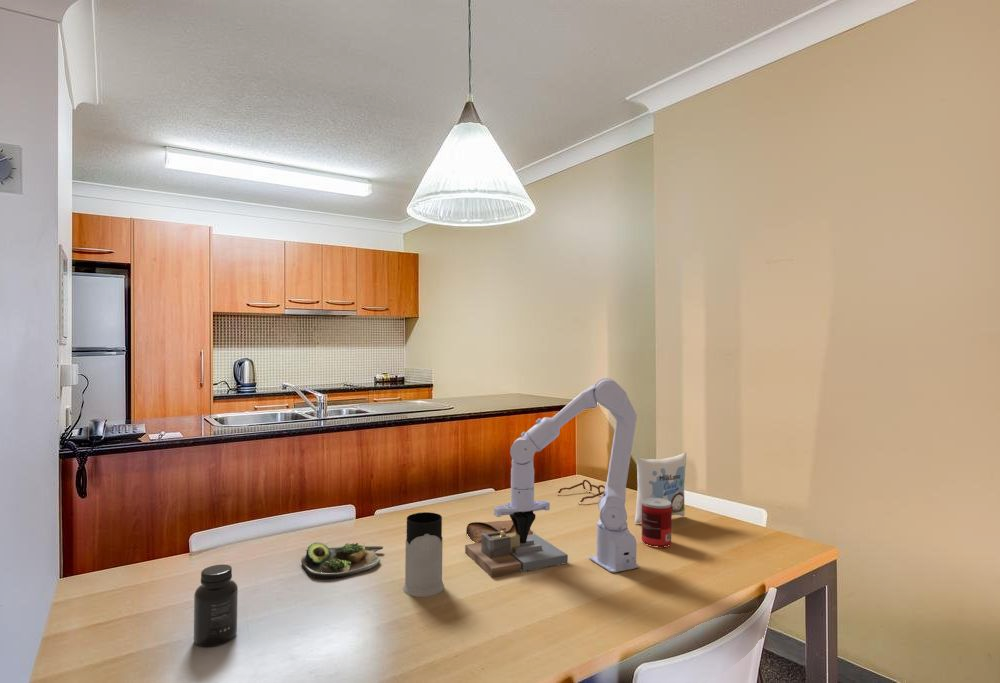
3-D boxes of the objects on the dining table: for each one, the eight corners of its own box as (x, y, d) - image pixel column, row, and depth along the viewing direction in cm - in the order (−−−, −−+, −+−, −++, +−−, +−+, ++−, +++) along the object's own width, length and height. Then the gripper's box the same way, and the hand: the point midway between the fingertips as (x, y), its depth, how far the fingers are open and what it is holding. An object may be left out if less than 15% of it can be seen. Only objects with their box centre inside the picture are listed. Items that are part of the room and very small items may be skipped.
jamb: (521, 571, 127) (521, 544, 127) (491, 577, 124) (492, 549, 124) (492, 548, 142) (492, 524, 142) (465, 552, 138) (465, 528, 138)
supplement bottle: (243, 627, 101) (244, 561, 101) (226, 648, 94) (227, 577, 94) (205, 627, 101) (206, 561, 101) (185, 648, 94) (186, 577, 94)
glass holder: (405, 599, 113) (405, 525, 113) (398, 571, 127) (399, 505, 127) (447, 594, 115) (448, 522, 116) (436, 567, 129) (437, 503, 129)
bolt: (519, 550, 135) (519, 530, 135) (493, 554, 132) (493, 534, 132) (515, 546, 137) (515, 527, 137) (489, 551, 134) (489, 531, 134)
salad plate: (371, 544, 145) (371, 526, 145) (398, 567, 130) (398, 547, 130) (294, 559, 134) (294, 540, 134) (314, 586, 119) (314, 565, 119)
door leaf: (567, 563, 132) (567, 550, 133) (523, 571, 127) (523, 558, 127) (535, 541, 147) (535, 530, 147) (494, 548, 142) (494, 536, 142)
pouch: (626, 520, 166) (626, 453, 166) (677, 513, 173) (678, 449, 173) (642, 528, 158) (642, 458, 158) (695, 521, 165) (696, 454, 165)
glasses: (608, 501, 188) (609, 486, 188) (578, 506, 181) (578, 491, 181) (584, 492, 199) (584, 478, 199) (554, 496, 192) (555, 482, 192)
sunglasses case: (473, 545, 144) (470, 518, 147) (467, 550, 149) (465, 525, 153) (538, 538, 149) (533, 513, 152) (530, 544, 155) (526, 520, 158)
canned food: (668, 538, 150) (668, 497, 150) (674, 549, 142) (674, 506, 142) (639, 537, 151) (639, 496, 151) (644, 547, 143) (644, 505, 143)
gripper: (540, 480, 143) (539, 532, 143) (489, 485, 137) (488, 540, 137) (554, 486, 137) (553, 541, 137) (501, 492, 130) (500, 550, 130)
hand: (521, 542), depth 136 cm, fingers closed
